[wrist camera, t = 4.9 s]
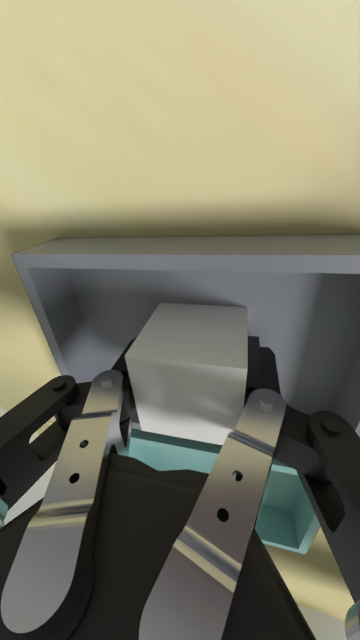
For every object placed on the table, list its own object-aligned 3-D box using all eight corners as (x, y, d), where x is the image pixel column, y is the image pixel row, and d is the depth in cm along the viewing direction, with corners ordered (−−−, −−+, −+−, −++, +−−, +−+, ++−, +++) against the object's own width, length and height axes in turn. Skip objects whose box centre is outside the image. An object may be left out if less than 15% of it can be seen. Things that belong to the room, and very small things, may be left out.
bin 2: (330, 429, 16) (346, 478, 13) (298, 509, 21) (305, 554, 19) (128, 398, 19) (109, 433, 16) (146, 475, 24) (135, 509, 22)
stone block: (247, 307, 12) (247, 369, 8) (241, 375, 14) (239, 448, 10) (160, 302, 13) (124, 355, 9) (167, 366, 15) (141, 430, 12)
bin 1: (407, 233, 9) (464, 255, 7) (334, 418, 15) (351, 468, 13) (55, 238, 13) (10, 254, 11) (101, 385, 19) (79, 418, 16)
